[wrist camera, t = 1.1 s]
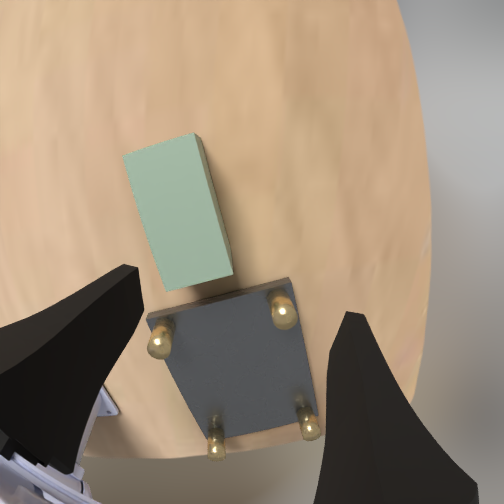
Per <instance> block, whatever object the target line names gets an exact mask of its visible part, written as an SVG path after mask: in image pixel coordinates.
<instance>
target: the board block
mask: <svg viewBox="0 0 504 504" xmlns="http://www.w3.org/2000/svg"><path fill="white" fill-rule="evenodd" d="M123 160H124V164H125V167H126V171H127V174H128V178H129V181H130V185H131V188H132V192H133V195H134V198H135V202H136V205H137V208H138V211H139V214H140V218H141V221H142V224H143V227H144V230H145V233H146V236H147V239H148V242H149V245H150V248H151V251H152V254H153V257H154V259H155V262H156V265H157V268H158V271H159V274H160V276H161V279H162V282H163V284H164V287H165V290H166V292H168V291H172V290H175V289H179V288H183V287H187V286H191V285H195V284H199V283H203V282H207V281H210V280H214V279H218V278H222V277H226V276H229V275H233V266H232V256H231V247H230V244H229V240H228V237H227V233H226V230H225V226H224V222H223V219H222V215H221V212H220V208H219V204H218V201H217V197H216V193H215V190H214V186H213V182H212V179H211V175H210V171H209V168H208V164H207V160H206V157H205V153H204V149H203V145H202V142H201V138H200V137H199V136H198V135H196V134H195V133H191V134H187V135H184V136H180V137H177V138H174V139H171V140H167V141H164V142H161V143H158V144H155V145H152V146H149V147H146V148H143V149H140V150H137V151H134V152H132V153H129V154H126V155H123Z"/></svg>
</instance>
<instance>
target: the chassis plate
mask: <svg viewBox="0 0 504 504" xmlns="http://www.w3.org/2000/svg"><path fill="white" fill-rule="evenodd" d="M146 321H147V323H148V326H149V328H150V330H151V332H152V334H151V337H150V340H149V343H148V346H147V351H148V353H149V354H150V355H151V356H152V357H153V358H156V359H164V360H165V362H166V364H167V366H168V369H169V371H170V373H171V375H172V377H173V379H174V380H175V382H176V384H177V386H178V388H179V390H180V392H181V394H182V396H183V398H184V400H185V402H186V403H187V405H188V407H189V409H190V411H191V413H192V414H193V416H194V418H195V420H196V422H197V423H198V425H199V427H200V429H201V430H202V432H203V434H204V435H205V437H206V439H207V440H208V458H209V459H210V460H212V461H222V460H224V459H225V457H226V452H225V438H228V437H233V436H239V435H244V434H248V433H253V432H258V431H262V430H267V429H271V428H275V427H279V426H283V425H287V424H291V423H294V422H299V425H300V429H301V432H302V436H303V439H304V440H306V441H313V440H316V439H317V438H319V437H320V435H321V431H320V429H319V426H318V423H317V420H316V417H315V416H318V411H317V405H316V400H315V395H314V390H313V384H312V379H311V374H310V369H309V364H308V359H307V354H306V349H305V344H304V339H303V335H302V330H301V325H300V320H299V316H298V311H297V306H296V302H295V297H294V292H293V288H292V283H291V281H290V279H289V277H287V278H283V279H280V280H276V281H272V282H269V283H265V284H261V285H258V286H254V287H250V288H246V289H243V290H239V291H235V292H231V293H227V294H223V295H220V296H216V297H212V298H208V299H204V300H200V301H196V302H192V303H188V304H184V305H180V306H176V307H172V308H168V309H164V310H160V311H155V312H151V313H148V315H147V318H146Z"/></svg>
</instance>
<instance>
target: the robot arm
mask: <svg viewBox="0 0 504 504" xmlns="http://www.w3.org/2000/svg"><path fill="white" fill-rule="evenodd" d="M143 312H144V304H143V298H142V292H141V285H140V278H139V270H138V267H134V266H130V265H126V264H123V265H121V266H119V267H117V268H115V269H114V270H112V271H110V272H108V273H107V274H105V275H103V276H102V277H100V278H99V279H97V280H95V281H94V282H92V283H90V284H89V285H87V286H85V287H84V288H82V289H80V290H79V291H77V292H75V293H74V294H72V295H70V296H68V297H67V298H65V299H63V300H61V301H59V302H58V303H56V304H54V305H52V306H50V307H49V308H47V309H45V310H43V311H41V312H38V313H36V314H34V315H32V316H30V317H27V318H25V319H23V320H20V321H17V322H15V323H12V324H10V325H7V326H4V327H1V328H0V504H101V503H99V502H97V501H95V500H93V499H92V494H91V491H90V487H89V485H88V483H86V482H85V481H83V480H82V477H83V474H84V471H85V470H84V469H83V468H82V467H80V466H79V465H80V462H81V459H82V456H83V453H84V450H85V447H86V444H87V442H88V439H89V436H90V433H91V431H92V428H93V425H94V422H95V420H96V417H100V416H112V415H117V414H118V412H119V410H118V408H117V407H116V405H115V404H114V402H113V401H112V399H111V398H110V396H109V394H108V393H107V391H106V390H105V388H104V387H103V384H104V382H105V380H106V378H107V376H108V375H109V373H110V371H111V370H112V368H113V366H114V365H115V363H116V361H117V360H118V358H119V356H120V355H121V353H122V352H123V350H124V348H125V347H126V345H127V343H128V342H129V340H130V339H131V337H132V335H133V334H134V332H135V329H136V327H137V325H138V323H139V321H140V319H141V316H142V314H143ZM110 411H111V412H110ZM313 504H479V496H478V487H477V483H476V482H475V481H474V480H473V479H472V478H471V477H469V476H468V475H467V474H466V473H465V472H464V471H463V470H462V469H461V468H460V467H459V466H458V465H457V464H456V463H455V462H454V461H453V460H452V459H451V458H450V457H449V456H448V454H447V453H446V452H445V451H444V450H443V449H442V448H441V446H440V445H439V444H438V443H437V442H436V440H435V439H434V438H433V437H432V435H431V434H430V433H429V431H428V430H427V429H426V428H425V426H424V425H423V423H422V422H421V421H420V419H419V418H418V416H417V415H416V413H415V412H414V410H413V409H412V407H411V406H410V404H409V403H408V401H407V399H406V398H405V396H404V394H403V392H402V391H401V389H400V387H399V385H398V384H397V382H396V380H395V378H394V376H393V374H392V372H391V370H390V368H389V366H388V364H387V362H386V360H385V358H384V356H383V354H382V352H381V350H380V348H379V346H378V344H377V342H376V339H375V337H374V335H373V333H372V331H371V328H370V326H369V324H368V322H367V319H366V317H365V316H364V314H359V313H354V312H348V311H346V313H345V316H344V318H343V321H342V323H341V326H340V328H339V330H338V333H337V335H336V338H335V340H334V342H333V345H332V347H331V349H330V353H329V361H328V370H327V390H326V436H325V447H324V453H323V460H322V465H321V471H320V476H319V481H318V486H317V491H316V496H315V499H314V503H313Z"/></svg>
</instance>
